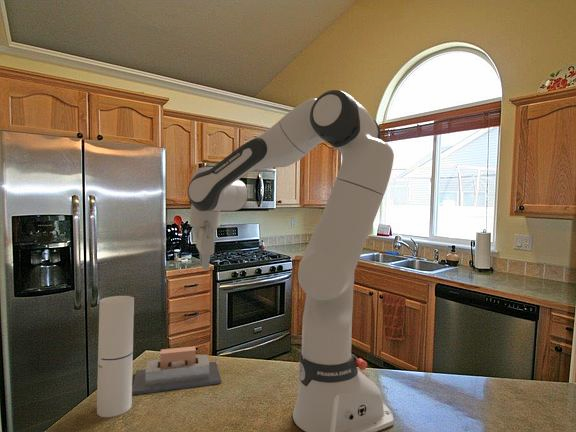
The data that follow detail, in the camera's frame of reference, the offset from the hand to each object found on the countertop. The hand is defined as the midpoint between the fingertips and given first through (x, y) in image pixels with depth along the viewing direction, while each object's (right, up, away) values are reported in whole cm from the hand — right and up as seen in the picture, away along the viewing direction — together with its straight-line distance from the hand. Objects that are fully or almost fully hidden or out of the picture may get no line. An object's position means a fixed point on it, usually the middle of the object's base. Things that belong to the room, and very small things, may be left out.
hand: (204, 266), depth 103 cm
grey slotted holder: (-5, -29, -10) cm, 31 cm away
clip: (-5, -28, -10) cm, 30 cm away
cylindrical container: (-14, -29, -25) cm, 41 cm away
